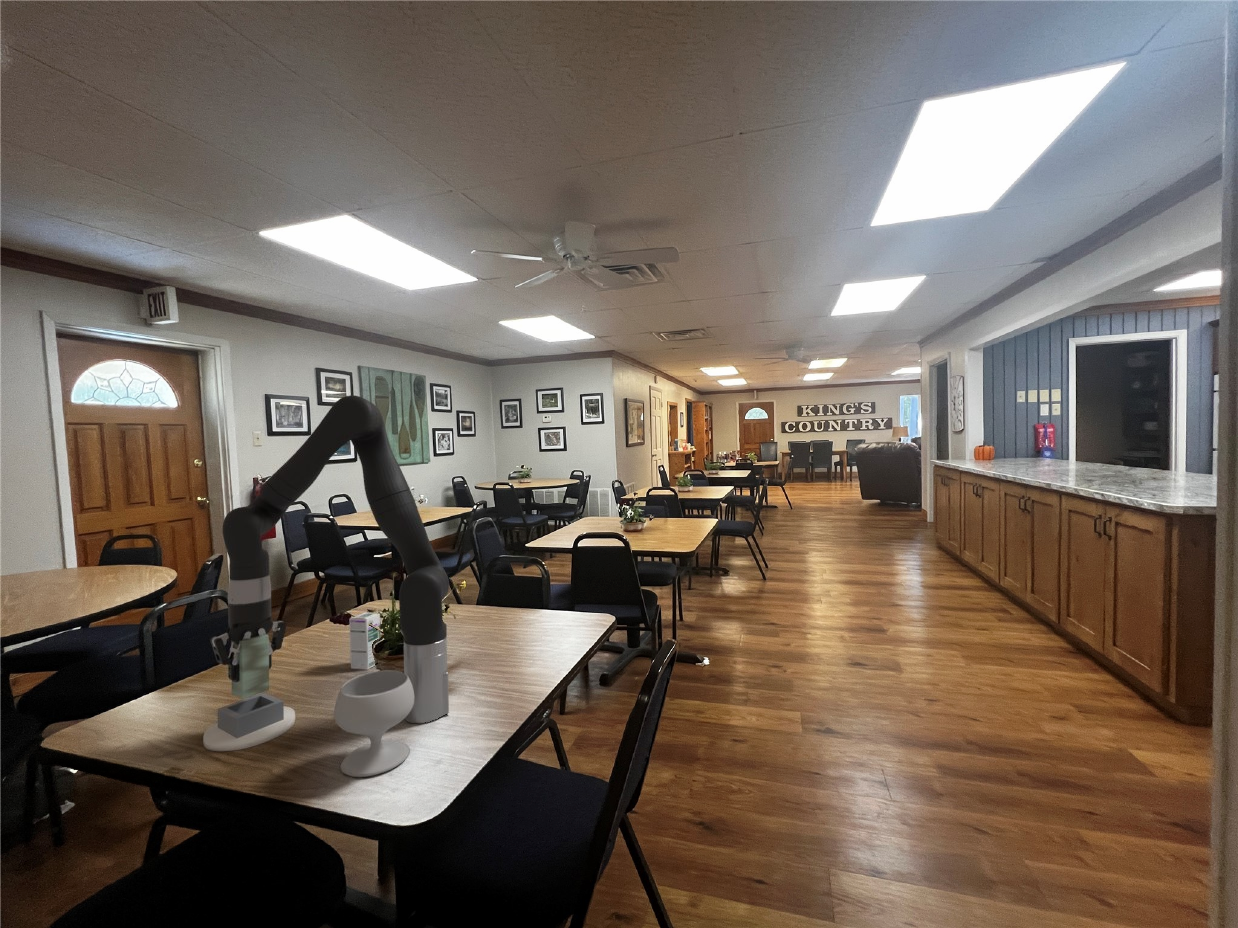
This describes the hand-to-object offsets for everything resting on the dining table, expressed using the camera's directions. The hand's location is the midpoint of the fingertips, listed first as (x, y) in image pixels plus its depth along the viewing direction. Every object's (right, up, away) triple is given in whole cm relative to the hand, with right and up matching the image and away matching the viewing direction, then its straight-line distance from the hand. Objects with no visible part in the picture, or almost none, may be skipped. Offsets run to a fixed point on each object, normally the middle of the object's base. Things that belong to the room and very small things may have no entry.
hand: (250, 675), depth 109 cm
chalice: (+33, -11, -12) cm, 37 cm away
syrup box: (+7, -12, +35) cm, 38 cm away
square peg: (0, -3, 0) cm, 3 cm away
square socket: (0, -12, 0) cm, 12 cm away
